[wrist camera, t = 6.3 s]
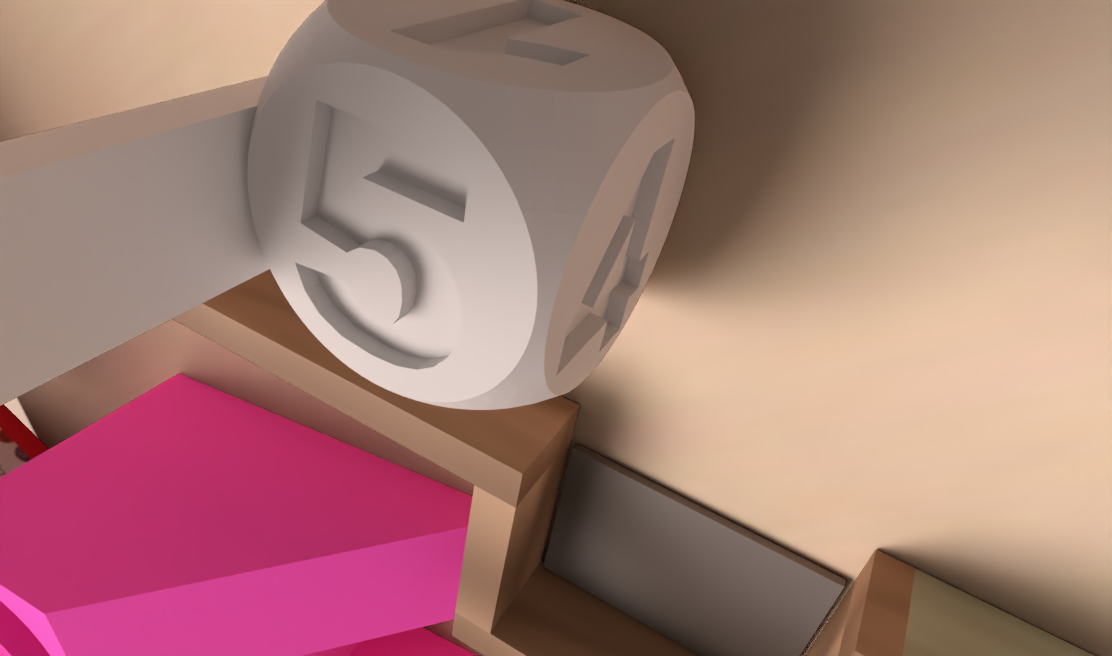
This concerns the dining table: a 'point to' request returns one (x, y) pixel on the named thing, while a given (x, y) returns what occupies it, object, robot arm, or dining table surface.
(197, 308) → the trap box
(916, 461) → the dining table surface
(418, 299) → the die
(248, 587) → the bracket
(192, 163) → the robot arm
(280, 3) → the dining table surface
